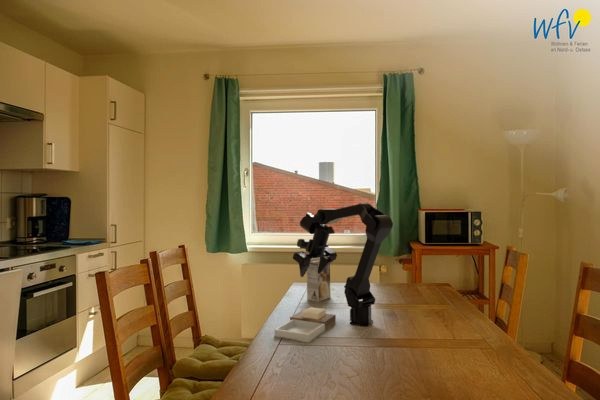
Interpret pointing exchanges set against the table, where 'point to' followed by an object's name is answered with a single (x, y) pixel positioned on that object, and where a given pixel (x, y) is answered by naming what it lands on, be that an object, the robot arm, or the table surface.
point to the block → (314, 313)
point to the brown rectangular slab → (327, 319)
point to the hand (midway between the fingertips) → (310, 275)
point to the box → (299, 330)
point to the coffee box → (318, 282)
